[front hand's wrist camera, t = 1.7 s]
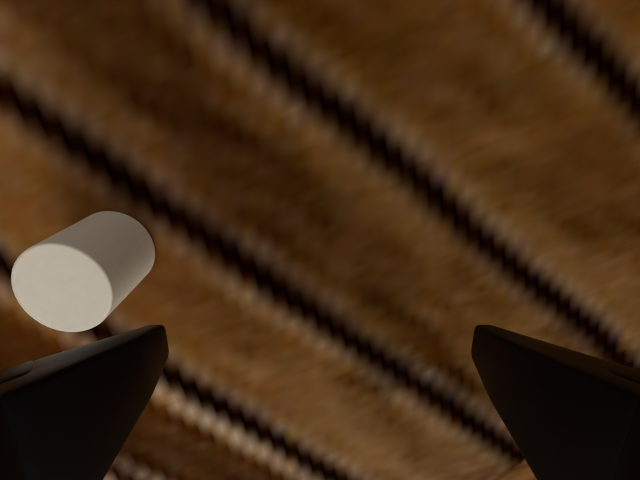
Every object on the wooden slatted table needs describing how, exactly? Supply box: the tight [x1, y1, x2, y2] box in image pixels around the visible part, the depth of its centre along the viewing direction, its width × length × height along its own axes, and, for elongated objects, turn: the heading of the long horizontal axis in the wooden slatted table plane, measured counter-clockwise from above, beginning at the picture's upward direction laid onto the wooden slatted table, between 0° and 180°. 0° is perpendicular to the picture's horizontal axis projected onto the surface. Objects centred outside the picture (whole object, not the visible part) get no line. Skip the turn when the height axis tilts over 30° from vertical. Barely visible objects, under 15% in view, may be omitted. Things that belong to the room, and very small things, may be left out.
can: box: [11, 211, 155, 332], centre depth 18 cm, size 4×4×5 cm
